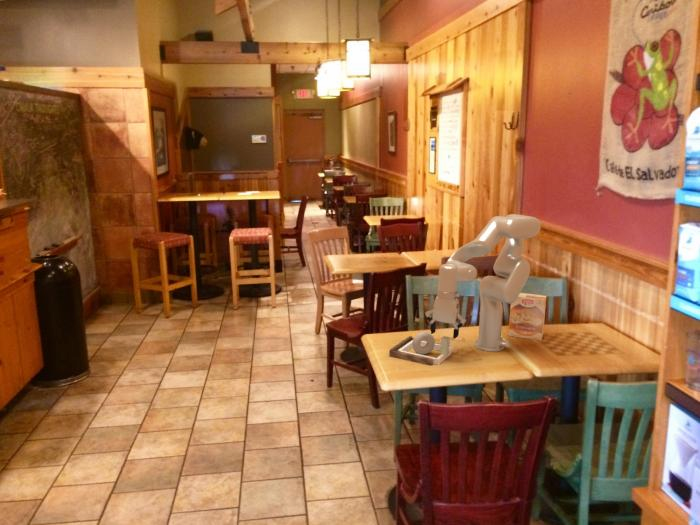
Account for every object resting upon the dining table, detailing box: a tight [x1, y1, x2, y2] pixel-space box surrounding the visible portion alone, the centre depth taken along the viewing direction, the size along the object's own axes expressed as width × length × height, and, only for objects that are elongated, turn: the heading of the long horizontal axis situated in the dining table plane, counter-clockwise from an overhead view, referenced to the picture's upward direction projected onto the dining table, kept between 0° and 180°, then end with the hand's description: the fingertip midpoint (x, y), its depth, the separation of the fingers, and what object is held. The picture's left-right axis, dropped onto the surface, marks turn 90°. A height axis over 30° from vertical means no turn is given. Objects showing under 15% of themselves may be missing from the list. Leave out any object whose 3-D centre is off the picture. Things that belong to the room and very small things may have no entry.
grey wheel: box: [412, 331, 436, 355], centre depth 248 cm, size 10×4×10 cm, turn 105°
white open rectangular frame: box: [398, 335, 454, 366], centre depth 248 cm, size 19×16×9 cm
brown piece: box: [388, 335, 451, 366], centre depth 250 cm, size 19×20×3 cm
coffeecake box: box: [507, 292, 547, 341], centre depth 271 cm, size 15×7×20 cm, turn 68°
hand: (444, 335), depth 242 cm, fingers open, 9 cm apart
